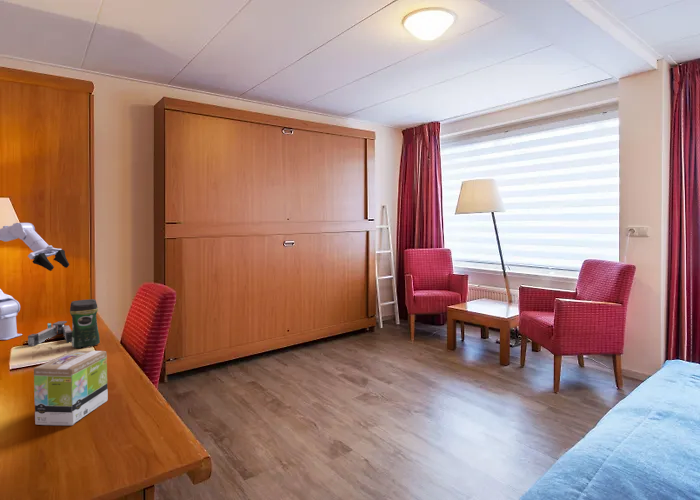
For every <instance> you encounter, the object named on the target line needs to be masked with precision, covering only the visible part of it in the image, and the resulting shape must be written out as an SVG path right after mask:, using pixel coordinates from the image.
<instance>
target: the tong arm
mask: <svg viewBox="0 0 700 500" xmlns="http://www.w3.org/2000/svg"><path fill="white" fill-rule="evenodd" d="M67 322H68V321H67V320H61V321H60V320H59V321H57V322H54V323H52V326H51V327H50V328H48V327H47V328H46V329H43V330H41V331H40V332H38V333H31V334H29V335H27V343H28V347H36V346H37V345H40V344H41V343H43V342H45V340H46V339H48V338H49V339H51V338H53V337H55V336H57V335H58V334H57V325H62V324H66V323H67ZM49 339H48V340H49ZM46 341H47V340H46Z"/></svg>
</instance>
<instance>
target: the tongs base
mask: <svg viewBox="0 0 700 500" xmlns="http://www.w3.org/2000/svg"><path fill="white" fill-rule="evenodd" d="M65 324H66V323H65ZM65 324H62V325H57V335H63V337H64V336H65V337H64V339H65V342H66V343H69V342H70V343H72V329H71V327H70V325H65Z"/></svg>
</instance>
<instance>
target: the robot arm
mask: <svg viewBox="0 0 700 500" xmlns="http://www.w3.org/2000/svg"><path fill="white" fill-rule="evenodd" d="M16 239H17V240H18V239H19V240H21V241H23V243H24V244H25V245H26V246H27V247H29V249H30V250H31V251H32V252H30V253H29V254H28V255H27V258H29V260H32V261H31V262H32V264H34V265H37V266H40V267H42V268H44V269H46V270H47V271H50V272H51V271H53V269H54V268H55V266H54V265H53V264H52V262H50V260H49V257H51V256H54V258H53V261H55V262H56V263H59V265H61V266H62V267H64V268H65V269H66V268H68V267H69V266H70V263H69V261H68V259H67V256H66V252H65V250H64V249H62V248H56V247H53V245H49V244H48V243H47V242H46V241H45V239H43V238H42V237H41V235H40V234H38V232H37V231H36V228H35V226H34V224H33V223H31V222H14V223H13V224H12V225H4V226H2V227H1V228H0V241H3V242H10V241H14V240H16ZM20 310H21V304H20V302H19V301H18V300H17V299H15V298H14V297H13V295H9V294H7V293H5V292H3V290H2V289H1V288H0V340H1V341H7V340H11V339H14V338H17V337H21V336H22V335H23V334H22V333H18V329H17V316H18V313H19V312H20Z"/></svg>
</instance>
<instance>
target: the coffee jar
mask: <svg viewBox="0 0 700 500" xmlns="http://www.w3.org/2000/svg"><path fill="white" fill-rule="evenodd" d="M98 311H99V307H98V303H97V300H96V299H93V298H92V299H80V300H73V301H71V302H70V308H69V313H70V316H71V319H72V322H71V323H72V324H71V325H72V326H71V328H72V329H71V331H72V342H71V346H72V348H74V349H82V348H81V347H84V348H89V346H90V347H93V346H97V345H98V344H100V341H101V339H100V332H99V327H98V319H97V314H98Z"/></svg>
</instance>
